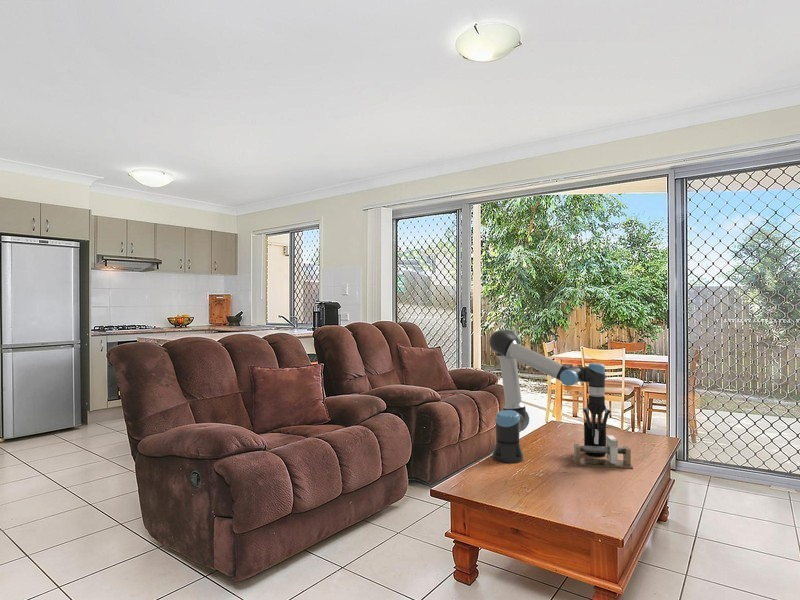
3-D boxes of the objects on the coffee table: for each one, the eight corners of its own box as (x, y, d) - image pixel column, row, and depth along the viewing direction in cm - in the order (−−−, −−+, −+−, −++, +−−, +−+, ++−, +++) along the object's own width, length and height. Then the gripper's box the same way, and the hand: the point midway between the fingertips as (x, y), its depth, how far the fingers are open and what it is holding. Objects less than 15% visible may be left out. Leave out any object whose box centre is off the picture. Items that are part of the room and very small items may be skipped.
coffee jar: (602, 451, 270) (602, 417, 270) (608, 457, 259) (608, 422, 259) (582, 451, 271) (581, 417, 271) (587, 456, 260) (587, 421, 260)
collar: (611, 463, 243) (610, 440, 243) (606, 457, 253) (606, 435, 253) (617, 463, 242) (617, 440, 242) (613, 457, 252) (612, 435, 252)
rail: (575, 465, 246) (575, 447, 246) (572, 459, 256) (572, 442, 256) (633, 468, 241) (632, 450, 241) (627, 462, 251) (627, 444, 251)
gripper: (584, 396, 247) (583, 444, 246) (612, 397, 244) (612, 446, 244) (581, 393, 254) (581, 440, 254) (608, 394, 252) (608, 442, 252)
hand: (596, 443), depth 249 cm, fingers closed
